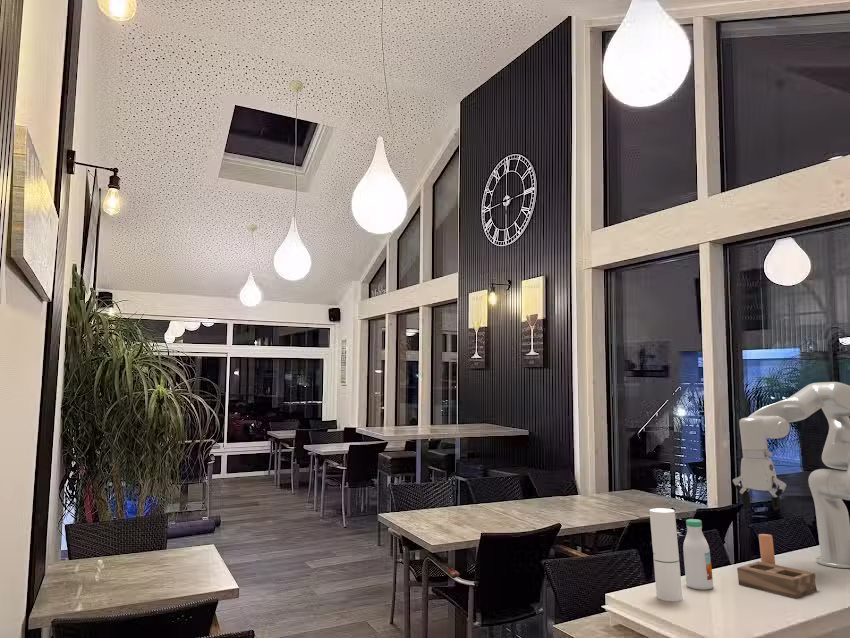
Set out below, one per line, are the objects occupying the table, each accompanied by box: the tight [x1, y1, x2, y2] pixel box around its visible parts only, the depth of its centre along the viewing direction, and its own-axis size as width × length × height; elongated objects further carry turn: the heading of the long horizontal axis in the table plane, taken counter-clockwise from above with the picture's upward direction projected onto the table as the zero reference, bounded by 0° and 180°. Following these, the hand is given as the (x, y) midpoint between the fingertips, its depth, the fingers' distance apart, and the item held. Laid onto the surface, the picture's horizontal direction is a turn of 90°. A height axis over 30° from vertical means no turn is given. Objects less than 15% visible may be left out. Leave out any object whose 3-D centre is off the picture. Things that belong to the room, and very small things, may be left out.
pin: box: [758, 533, 776, 565], centre depth 199 cm, size 4×4×12 cm
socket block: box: [736, 560, 817, 599], centre depth 184 cm, size 12×17×5 cm
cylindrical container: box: [649, 507, 683, 602], centre depth 180 cm, size 7×7×25 cm
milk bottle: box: [682, 518, 714, 591], centre depth 189 cm, size 8×8×20 cm
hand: (761, 507), depth 199 cm, fingers open, 9 cm apart
